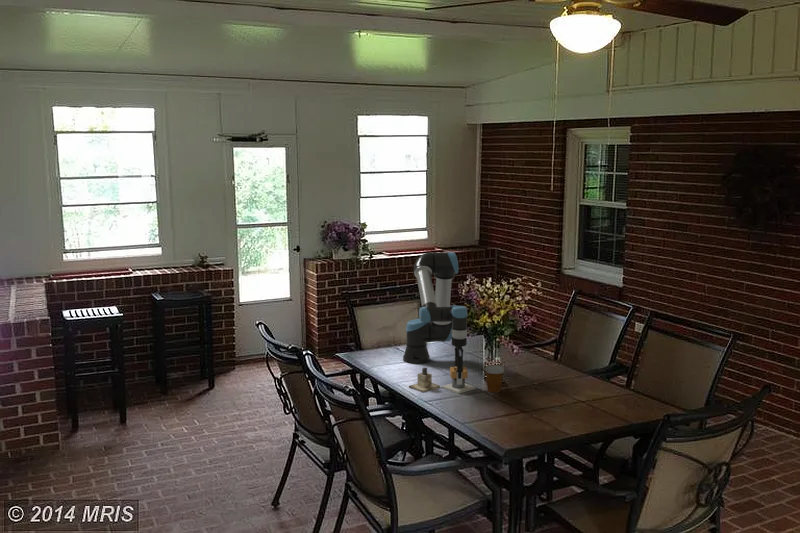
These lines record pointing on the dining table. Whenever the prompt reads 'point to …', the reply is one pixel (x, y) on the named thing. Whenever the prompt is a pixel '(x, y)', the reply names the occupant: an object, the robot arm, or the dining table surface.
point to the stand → (424, 382)
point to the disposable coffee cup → (494, 377)
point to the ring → (454, 373)
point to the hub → (458, 386)
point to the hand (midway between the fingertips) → (458, 381)
